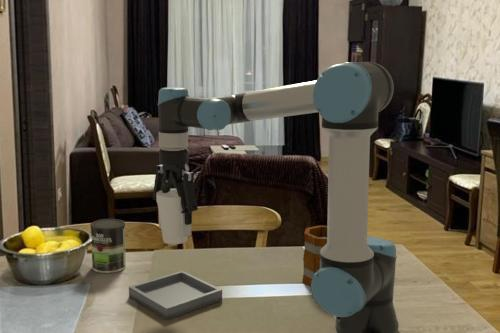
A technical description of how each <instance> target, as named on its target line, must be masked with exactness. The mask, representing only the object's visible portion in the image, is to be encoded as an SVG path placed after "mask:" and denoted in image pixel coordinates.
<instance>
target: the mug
mask: <svg viewBox="0 0 500 333" xmlns="http://www.w3.org/2000/svg"><path fill="white" fill-rule="evenodd" d="M303 235H304V236H303V237H304V248H303V249H304V250H303V257H302V258H303V262H302V263H303V275H302V281H301V283H302V284H304V285H306V286H308V287H310V288H311V282H312V279H313V277H314V275H315V273H316V272H317V271H318V270H319V269H320V250H321V248H323V247H324V246H325V245H326V244H327V225H315V226H311V227H310V226H309V227H306V228H305V230H304V233H303Z"/></svg>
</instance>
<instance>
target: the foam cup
mask: <svg viewBox="0 0 500 333" xmlns="http://www.w3.org/2000/svg"><path fill="white" fill-rule="evenodd" d="M156 200H157V201H156ZM156 200H155V201H156V203H157V211H158V210H159V214H158V217H159V216H160V223H161V228H160V230H161V234H162V235H161V236H162V241H163V243H165V244H166V245H179V244H185V243H186V242H187V241H188V237H189V236H186V237H181V212H182V211H183V209H182V206H181V197H179V196H178V193H177V189H176V188H171V189H170V191H169V192H168V193H162V191H158V192H157V193H156ZM186 208H187V206H186Z"/></svg>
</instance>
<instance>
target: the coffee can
mask: <svg viewBox="0 0 500 333" xmlns="http://www.w3.org/2000/svg"><path fill="white" fill-rule="evenodd" d="M90 229H91V230H90V236H91V237H92V239H93V240H92V241H91V264H92V266H91V268H92V270H93V271H94V272H96V273H99V274H101V273H102V274H115V273H117V272H121V271H124V270H125V269H126V268H127V263H126V260H127V259H126V222H125V220H122V219H118V218H103V219H97V220H94V221H92V222H91V223H90Z"/></svg>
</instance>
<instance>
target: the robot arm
mask: <svg viewBox="0 0 500 333" xmlns="http://www.w3.org/2000/svg"><path fill="white" fill-rule="evenodd" d="M394 87H395V84H394V81H393V78H392V75H391V74H390V72H389V71H388V69H386V68H385V67H384V66H382V65H381V64H378V63H376V62H373V61H363V62H362V61H361V62H359V61H357V62H349V61H347V62H340V63H338V64H334V65H331V66H329V67H328V68H325V70H324V71H322V73H321V74H320V75H318V78H317V79H316V80H312V81H306V82H305V81H304V82H300V83H294V84H287V85H283V86H282V85H281V86H277V87H271V88H265V89H259V90H253V91H247V92H241V93H235V94H228V95H220V96H211V97H194V96H189V90H188V89H187V88H185V87H175V86H174V87H162V88H160V89H159V90H158V100H157V112H158V146H159V150H158V158H159V161H158V162H159V165H155V177H154V184H153V191H152V200H155V201H156V202H157V200H156V193H157V192H158V191H162V193H168V192H169V191H170V189H172V187H174V188H173V189H177V193H178V196H179V197H181V206H182V209H183V211H182V212H181V237H186V236H188V237H190V236H192V224H193V212H195V211H198V209H199V208H198V202H197V195H196V190H195V183H194V179H195V175H194V174H195V173H194V172H193V171H191V172H189V171H187V169H186V165H187V164H188V163H189V149H188V147H189V128H195V129H203V130H207V131H213V130H214V131H222V130H223V129H225V128H226V127H227V126H229V125H234V124H242V123H249V122H254V121H260V120H261V121H263V120H270V119H278V118H284V117H291V116H292V117H293V116H299V115H300V116H301V115H306V114H307V115H308V114H314V113H319V115H320V117H321V129H322V130H323V131H324V132H325V133H326V134H327V135H328V161H327V162H328V171H327V172H328V173H327V174H328V176H327V225H326V226H327V244H326V245H325V246H324V247H323V248H321V250H320V269H319V270H318V271H317V272H316V273H315V275H314V277H313V279H312V282H311V287H310V289H311V293H312V296H313V299H314V301H315V302H316V304H318V305H319V306H320V307H321V309H322V310H323V311H324V312H326V313H327V314H329V315H332V316H334V317H335V330H336V331H337V333H399V327H400V326H399V321H398V317H397V313H396V310H395V305H394V291H395V278H396V276H395V275H396V264H397V258H398V257H397V247H396V244H394V243H393V242H392V241H390V240H387V239H384V238H380V237H374V236H368V220H369V219H368V217H369V215H368V214H369V187H370V186H369V183H370V181H369V180H370V152H371V151H370V149H371V148H370V147H371V136H372V135H373V133H375V132H376V131H377V130H378V129H379V113H380V112H381V111H383V110H384V109H385V108H386V107H387V106H388V105H389V104H390V103H391V101H392V98H393V95H394V90H395V89H394ZM172 185H173V186H172ZM186 206H187V208H186ZM157 212H158V213H157V214H158V228H160V229H161V223H160V216H159V210H158V209H157Z"/></svg>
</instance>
